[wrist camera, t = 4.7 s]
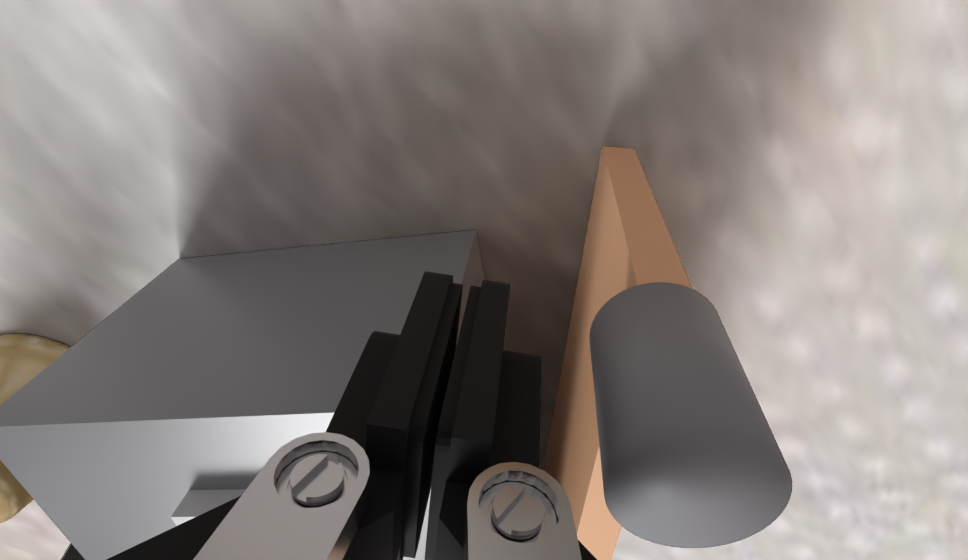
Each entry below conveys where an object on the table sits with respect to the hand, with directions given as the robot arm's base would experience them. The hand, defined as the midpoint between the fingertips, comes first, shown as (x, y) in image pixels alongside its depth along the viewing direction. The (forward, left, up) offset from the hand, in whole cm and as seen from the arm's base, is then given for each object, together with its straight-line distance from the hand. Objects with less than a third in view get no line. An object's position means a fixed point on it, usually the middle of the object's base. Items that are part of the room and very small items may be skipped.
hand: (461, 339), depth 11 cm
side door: (+8, +2, -8) cm, 12 cm away
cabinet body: (+10, -7, -9) cm, 15 cm away
